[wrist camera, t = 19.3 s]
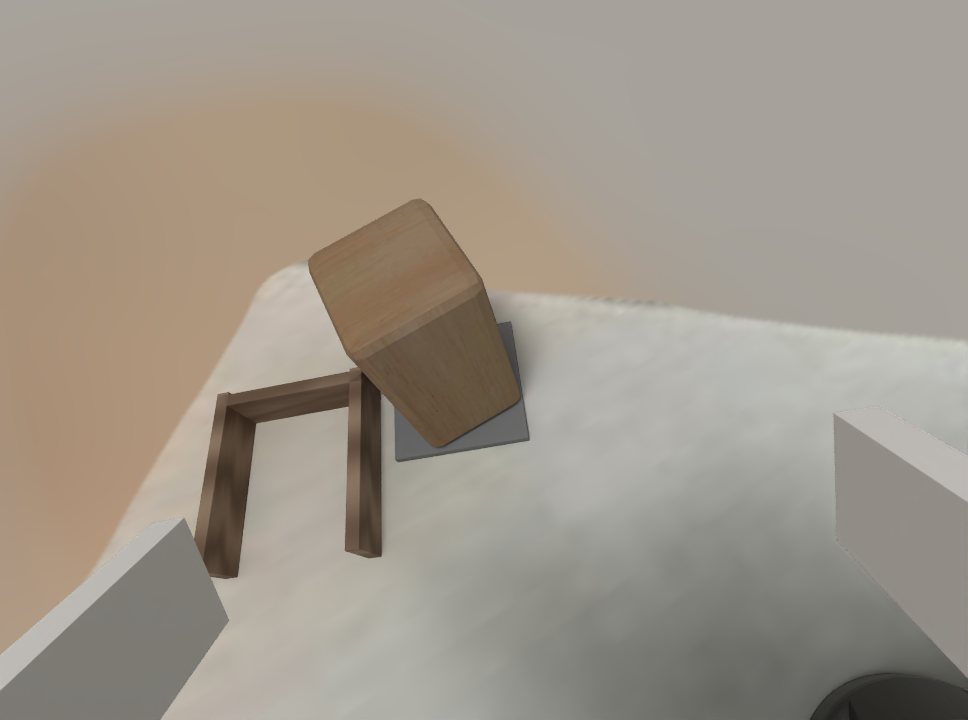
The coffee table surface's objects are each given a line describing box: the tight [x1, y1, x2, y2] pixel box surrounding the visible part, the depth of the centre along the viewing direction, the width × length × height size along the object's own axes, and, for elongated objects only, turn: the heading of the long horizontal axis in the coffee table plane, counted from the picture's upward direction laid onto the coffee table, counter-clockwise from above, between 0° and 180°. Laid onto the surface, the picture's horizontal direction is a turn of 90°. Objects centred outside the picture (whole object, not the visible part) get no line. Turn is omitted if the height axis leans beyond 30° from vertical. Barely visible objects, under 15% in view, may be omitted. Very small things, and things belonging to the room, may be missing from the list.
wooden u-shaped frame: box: [194, 367, 381, 579], centre depth 49 cm, size 17×15×5 cm
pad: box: [394, 322, 529, 462], centre depth 52 cm, size 13×13×1 cm
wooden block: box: [308, 199, 520, 448], centre depth 43 cm, size 10×10×20 cm
